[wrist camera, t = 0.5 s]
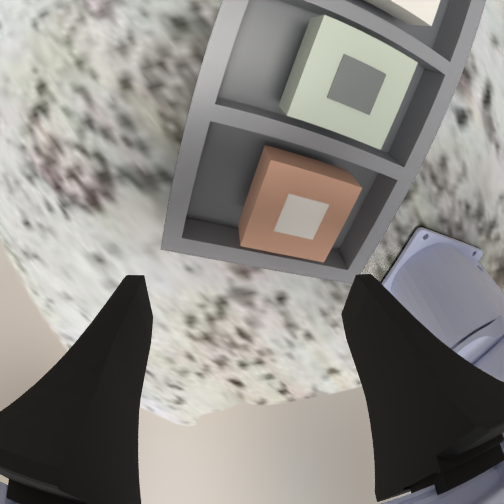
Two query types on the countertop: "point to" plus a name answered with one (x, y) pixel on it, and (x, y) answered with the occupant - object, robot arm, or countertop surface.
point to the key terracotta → (296, 205)
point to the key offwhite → (409, 10)
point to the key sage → (347, 81)
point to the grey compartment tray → (304, 126)
